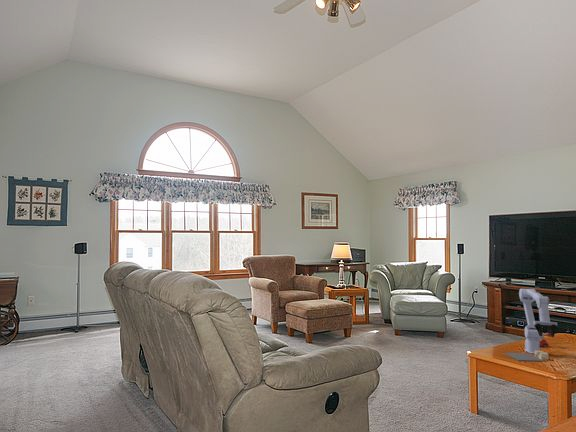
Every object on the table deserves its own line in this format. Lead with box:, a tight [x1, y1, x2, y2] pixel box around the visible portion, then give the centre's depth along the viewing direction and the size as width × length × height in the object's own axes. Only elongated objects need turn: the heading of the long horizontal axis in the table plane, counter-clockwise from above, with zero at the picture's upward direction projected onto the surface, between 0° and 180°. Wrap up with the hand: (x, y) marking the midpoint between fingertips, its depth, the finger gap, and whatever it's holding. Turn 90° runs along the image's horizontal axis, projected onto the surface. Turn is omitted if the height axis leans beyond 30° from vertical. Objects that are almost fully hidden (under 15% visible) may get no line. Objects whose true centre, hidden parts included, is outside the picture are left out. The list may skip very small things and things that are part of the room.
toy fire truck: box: [539, 332, 552, 348], centre depth 329 cm, size 3×14×10 cm, turn 101°
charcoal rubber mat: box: [504, 352, 544, 362], centre depth 294 cm, size 18×16×1 cm
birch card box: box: [534, 350, 549, 361], centre depth 294 cm, size 8×4×4 cm, turn 0°
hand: (546, 336), depth 289 cm, fingers open, 7 cm apart
